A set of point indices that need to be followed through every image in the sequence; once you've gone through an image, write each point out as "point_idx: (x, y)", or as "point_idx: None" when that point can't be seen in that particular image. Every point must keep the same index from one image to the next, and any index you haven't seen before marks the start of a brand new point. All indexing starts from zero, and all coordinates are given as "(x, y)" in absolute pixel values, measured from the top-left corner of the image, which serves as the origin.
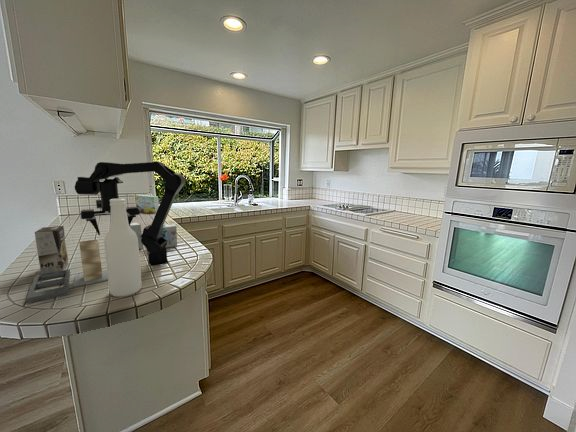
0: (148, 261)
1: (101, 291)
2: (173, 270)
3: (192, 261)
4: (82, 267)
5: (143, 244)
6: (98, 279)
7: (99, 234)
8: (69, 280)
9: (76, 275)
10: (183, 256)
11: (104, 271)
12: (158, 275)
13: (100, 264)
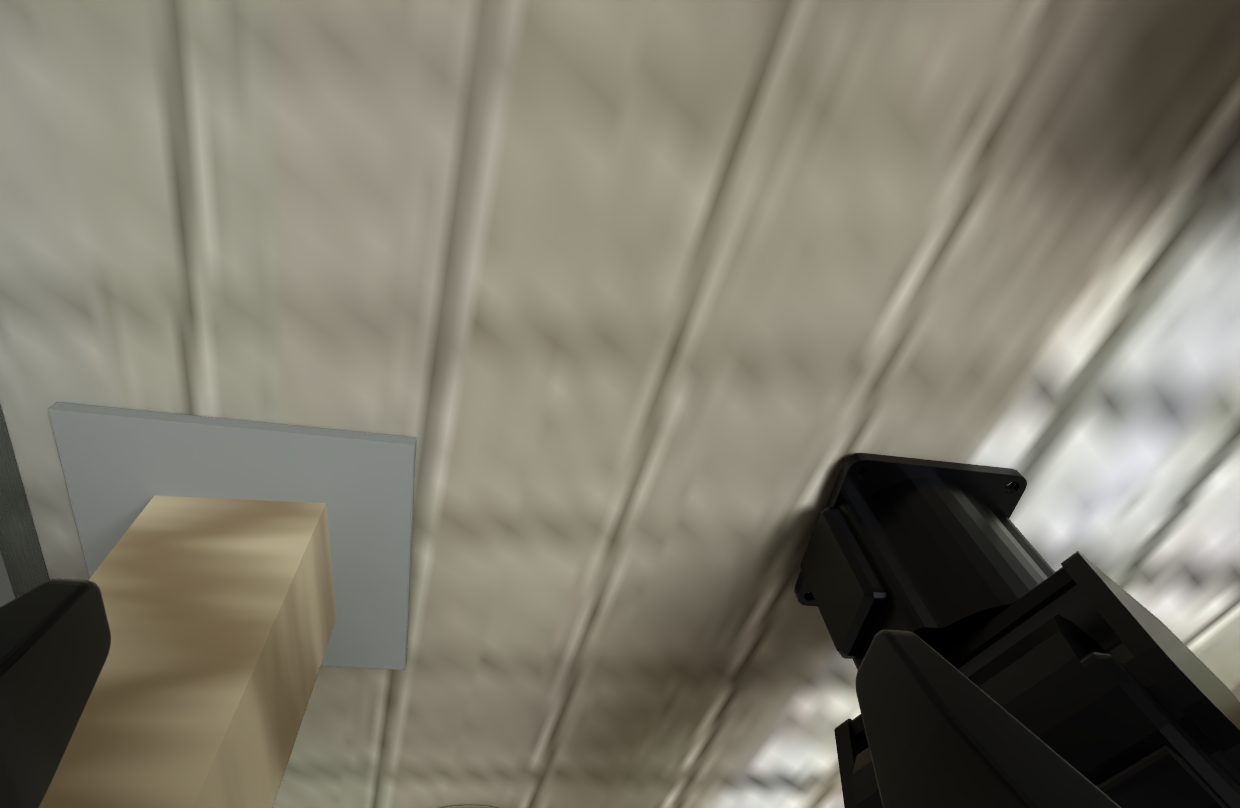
0: (813, 557)
1: (322, 796)
2: None
3: None
4: (91, 576)
5: (858, 775)
6: None
7: (87, 680)
8: (20, 483)
9: (63, 413)
10: (1187, 513)
11: (363, 480)
12: (728, 766)
13: (286, 747)
